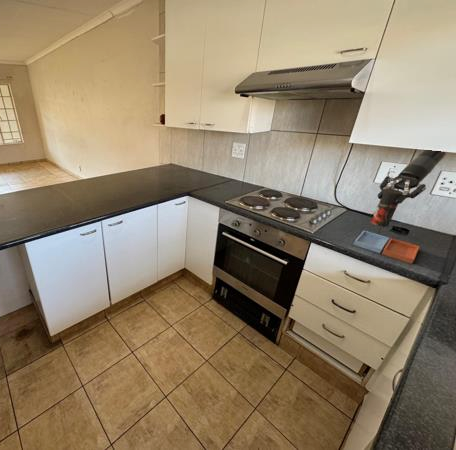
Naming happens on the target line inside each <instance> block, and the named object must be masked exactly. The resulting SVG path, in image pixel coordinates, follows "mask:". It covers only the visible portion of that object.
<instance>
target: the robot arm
mask: <svg viewBox="0 0 456 450" xmlns="http://www.w3.org/2000/svg"><path fill="white" fill-rule="evenodd" d="M446 155H447V151H446V152H441V151H432V150H424V149H423V150H422V151H421V152H420V153H419V154H418V155H417V156H416V157H415V158H414V159H412V160H411V161H410V162H409V163H408V164H407V165H406V166H405V167H404V168H403V169H402V170H401V172H399V173H398V175H397V176H395V177H390V176H389V175H387V176H385V177H384V179H383V180H382V182H381V183H380V185H379V190H380V191H379V192H378V194H377V198H378V199H379V200H381V197H382V195H383V193H384V190H385V189H393V190H399V191H402V192H403V195H401V196H400V197H399V198H398V199H397V200H396V201H395V203H396V204H398V205H400V204H402V203H403V202H405V200H407V199H415V198H416V197H418V196H419V195H421V194H422V193H423V192H424V191H426V190H427V185H426V184H425V183H421V182H422V181H423V180H424V179H425V178H426V177H427V176H428V175H429V174H431V172H432V171H433V170H434V169H435V167H436V166H437V165H438V164H439V163H440V162H441V161H442V160H443V159H444V158H445V157H446ZM414 188H415V189H414ZM411 189H414V190H413V191H411Z"/></svg>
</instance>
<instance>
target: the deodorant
mask: <svg viewBox="0 0 456 450" xmlns="http://www.w3.org/2000/svg"><path fill="white" fill-rule="evenodd" d="M403 193H404V191H402V190H399V189H394V190H393V189H385V190H384V193H383V195H382V197H381V199H379V202H378V205H377V207H376V208H375V211H374V214H373V216H372V219H371V221H370V223H371V224H373V225H375V226H378V227H389V225H390V223H391V221H392V219H393V217H394V214H395V212H396V210H397V207H398V206H399V204H396V203H395V201H396V200H397V199H398V198H399V197H400V196H401V195H403Z"/></svg>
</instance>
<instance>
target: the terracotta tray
mask: <svg viewBox="0 0 456 450" xmlns="http://www.w3.org/2000/svg"><path fill="white" fill-rule="evenodd" d="M420 248H421V247H420V245H416V244H413V243H410V242H405V241H403V240H399V239H396V238H392V237H390V238H389V240H388V242H387V243H386V245H385V246H384V248H383V249H382V251H381V255H383V256H387V257H388V258H389V257H390V258H393V259H396V260H399V261H402V262H405V263H408V264H411V265H412V264H413V263H414V261H415V259H416V256H417V254H418V252H419V249H420Z"/></svg>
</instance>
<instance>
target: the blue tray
mask: <svg viewBox="0 0 456 450" xmlns="http://www.w3.org/2000/svg"><path fill="white" fill-rule="evenodd" d="M389 240H390V237H389V236H385V235H382V234H378V233H375V232H371V231H367V230H362V232H361V233H360V234H359V235H358V236H357V237H356V239H355V240H354V242H353V244H352V245H353V246H356V247H359V248H362V249H366V250H369V251H372V252H374V253H377V254H382V252H383V250H384V248H385V247H386V245H387V243H388V242H389Z"/></svg>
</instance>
